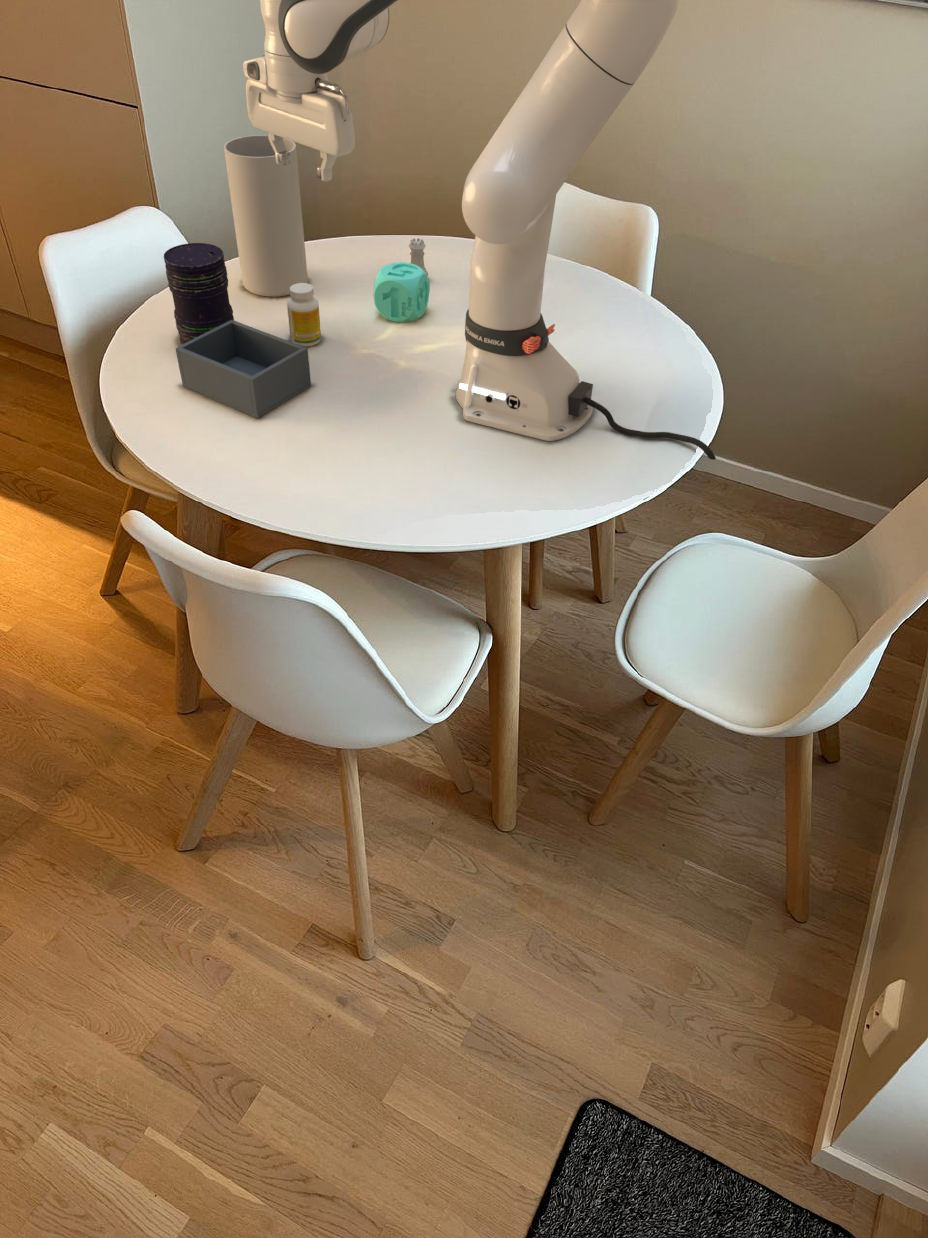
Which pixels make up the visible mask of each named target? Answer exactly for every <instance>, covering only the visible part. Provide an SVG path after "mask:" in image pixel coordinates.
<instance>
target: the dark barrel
mask: <svg viewBox="0 0 928 1238" xmlns="http://www.w3.org/2000/svg"><path fill="white" fill-rule="evenodd" d="M163 260H164V264H165V265H164V266H165V275H166V279H167V286H168V288H169V291H170V292H171V294H172V300H173V305H174V310H173V318H174V319H175V327H176V330H177V332H178V333H177V334H178V335H179V342H180V345H182V344H184V343H186V342H188V341H190V340H192V339H194V338H196V337H198V336H200V335H202V334H204V333H206V332H208V331H210V330H212V329H214V328H216V327H218V326H220V325H222V324H224V323H226V322H228V321H230V320H234V321H235V317H234V310H233V307H232V305H231V304H230V296H229V290H228V287H229V278H228V270H227V266H226V262H225V253H224V251H223V248H221V247H220V246H218V245H216V244H211V243H207V242H189V243H183V244H178V245H176V246H173V247H170V248H168V249H167V250H166V251H165V252H164V254H163Z"/></svg>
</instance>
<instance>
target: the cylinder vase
mask: <svg viewBox="0 0 928 1238" xmlns="http://www.w3.org/2000/svg"><path fill="white" fill-rule="evenodd" d="M283 142H284V145H285V148H286V151H288V152H290V161H291V162H290V164H289V165H286V166H282V165H279V164H277V163H276V156H275V152H274V150H273V147H272V145H271V143H270V141H269V137H268V134H265V135H264V134H255V135H244V136H240V137H236V138H233V139H230V140H229V141H226V142H225V143H224V145H223V151H224V152H223V153H224V159H225V166H226V167H225V168H226V172H227V181H228V188H229V195H230V202H231V209H232V216H233V223H234V230H235V231H234V232H235V238H236V245H237V246H236V247H237V252H238V261H239V268H240V275H241V281H242V286H243V287H244V288H245V289H246V290H247V291H249V292H250V293H251V294H254V295H257V296H262V297H271V298H272V297H273V298H274V297H275V298H276V297H284V296H290V287H291V286H292V285H294V284H297V283H307V284H308V281H309V280H308V279H309V278H308V277H309V276H308V266H307V255H306V245H305V244H306V243H305V233H304V232H305V231H304V222H303V221H304V219H303V210H302V209H303V208H302V199H301V186H300V176H299V165H298V153H297V144H296V142H294V141H291V140H288V139H285V138H283Z"/></svg>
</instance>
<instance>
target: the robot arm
mask: <svg viewBox="0 0 928 1238" xmlns="http://www.w3.org/2000/svg"><path fill="white" fill-rule="evenodd" d="M397 2H399V0H259V5H260V14H261V17H262V20H263V23H264V28H265V30H264V31H265V33H264V34H265V37H264V43H263V49H264V54H263V55H262V56H259V57H256V58H251V59H249V60H245V61H244V62H242V69H243V74H244V77H245V78H247V80H246V83H245V98H246V108H247V116H248V119H249V122H250V123H251V125H252V126H253V128H254V129H257V130H260V131H263V132H265V133H267V135H268V137H269V141H270V143H271V145H272V147H273V150H274V152H275V156H276V163H277V164H279V165H282V166H286V165H289V164H290V162H291V161H290V152H288V151H286V148H285V145H284V142H283V138H285V139H288V140H291V141H293V142H294V143H297V144H299V145H303V146H305V147H308V148H310V149H313V150H317V151H319V153H320V154H319V156H320V159H322V162H321V165H320V166H318V167H316V173H317V175H316V177H317V179H318V180H319V181H322V182H325V183H327V182H331V181H332V179H333V167H334V165H335V163H336V160H337V158H338V157H341V156H342V157H343V156H346V155H349V154H351V153H352V152H353V151H354V149H355V148H356V138H355V137H356V136H355V126H354V118H353V113H352V108H351V105H350V98H349V96H348V95H347V93H346V92H345V91H344V90H343V88H342V87H343V86H341V85H340V84H339V83H333V82H330V81H329V79H328V78H329V77H328V76H329V75H328V73H329V72H331V71H332V70H334V69H335V68H337V67H338V66H340V65H341V64H343V63H345V62H347V61H350V60H351V59H354V58H356V57H358V56H360V55H361V54H365V53H366V52H368V51H370V50H372V49H373V48H374V47H376V46H377V45H378V44H380V43H381V42H382V40H383V39H384V38H385V36H386V34H387V32H388V30H389V24H390V7H392V6H393V5H395V4H396V3H397ZM678 4H679V0H580V1H579V3H578V5H577V6H576V7H575V10H574V11H573V13H572V14H571V15H570V16H569V18H568V20H567V21H566V23H565V25H564V26H563V28H562V29H561V31H560V32H559V34H558V36H557V37H556V38H555V40H554V42H553V43H552V44H551V46H550V48H549V50H548V51H547V52H546V54H545V55H544V57H543V59H542V60H541V62H540V63H539V65H538V67H537V68H536V69H535V71H534V73H533V75H532V76H531V77H530V79H529V81H528V82H527V84H526V85H525V86H524V88H523V90H522V91H521V92H520V94H519V95H518V97H517V98H516V100H515V101H514V103H513V105H512V107H511V108H510V109H509V111H508V112H507V114H506V115H505V116H504V118H503V120H502V121H501V123H500V124H499V126H498V127H497V129H496V130H495V132H494V133H493V135H492V136H491V138H490V139H489V141H488V143H487V144H486V146H485V147H484V149H483V150H482V152H481V153H480V155H479V156H478V158H477V159H476V161H475V162H474V164H473V165H472V167H471V168H470V170H469V172H468V174H467V175H466V178H465V181H464V185H463V190H462V198H461V212H462V217H463V220H464V223H465V224H466V226H467V227H468V229H469V231H470V232H471V233H472V234H473V235H474V243H473V248H472V253H471V257H470V265H469V289H468V290H469V291H468V309H467V310H466V312H465V321H464V337H465V341H466V344H465V345H466V346H465V354H464V359H463V360H464V361H463V366H462V371H461V375H460V379H459V382H458V385H457V387H456V390H455V400H456V402H457V403H458V404H459V406H460V407H461V409H462V418H463V419H464V421H467V422H469V423H474V424H478V425H482V426H486V427H489V428H494V429H498V430H501V431H505V432H510V433H512V434H513V433H514V434H517V435H522V436H526V437H530V438H533V439H537V440H541V441H546V442H555V441H559V440H562V439H564V438H567V437H569V436H571V435H573V434H574V433H576V432H577V431H578V430H580V429H581V428H583V426H584V425H586V423H587V422H588V421H589V420H590V419H591V416H592V414H593V409H595V410H597V411H598V412H600V413H601V414H602V415H603V416H604V417H605V418H606V420H607V423H608V425H609V426H610V427H611V428H612V429H613V430H615V431H616V432H618V433H619V434H622V435H625V436H630V437H636V438H642V439H669V440H674V441H678V442H683V443H689V444H692V445H694V446H696V447H698V448H699V449H700V450H702V451H703V452H704V454H705V455H706V456H707V458H708V459H710V460H713V461H714V460H717V458H716V456H715V453H714V452H713V451H712V449H711V448H710V447H709V446H708V445H707V444H706V443H705V442H703V441H702V440H700V439H698V438H695V437H693V436H689V435H685V434H680V433H674V432H669V431H643V430H642V431H641V430H635V429H629V428H626V427H624V426H621V425H620V424H618V423H617V422H615V420H614V417H613V415H612V413H611V412H610V411H609V410H608V409H607V407H605V406H603V405H602V404H600V403H599V402H597V401H595V400H593V399H592V396H593V389H594V384H593V383H591V382H588V381H587V382H586V381H584V380H581V381H580V376H579V373H578V372H577V370H576V369H575V368H574V367H573V365H571V364H570V363H569V361H567V360H566V359H565V358H564V356H563V355H562V354H561V353H560V352H559V350H558V349H557V348H556V347H555V346H554V345H553V344H552V343H551V342H550V341H549V340H550V338H549V336H550V335H552V334H553V333H554V332H555V327H556V324H555V323H552V324H551V325H550V326H548V327H547V326H546V323H545V319H544V316H543V314H542V303H543V291H544V283H545V282H544V281H545V272H546V271H545V270H546V263H547V257H548V251H549V244H550V239H551V234H552V233H551V232H552V226H553V219H554V212H555V207H556V200H557V194H558V192H559V191H560V189H561V188H562V187H563V185H564V184H565V183H566V181H567V179H568V178H569V177H570V176H571V174H572V173H573V171H574V169H575V168H576V167H577V165H578V164H579V162H580V161H581V159H582V158H583V156H584V155H585V154H586V153H587V150H588V149H589V148H590V146H591V145H592V144H593V141H594V140H595V139H596V138H597V136H598V134H599V133H600V131H601V130H602V129H603V127H604V126H605V125H606V124H607V122H608V121H609V119H610V118H611V116H613V114H614V113H615V111H616V110H617V108H618V107H619V106H620V104H621V103H622V101H623V100H624V99H625V97H626V96H627V95H628V93H629V91H630V90H631V88H633V86H634V85H635V83H636V82H637V80H638V79H639V78H640V77H641V75H642V74H643V72H644V71H645V70H646V68H647V66H648V65H649V63H650V61H651V60H652V58H653V57H654V55H655V53H656V51H657V49H658V48H659V47H660V45H661V43H662V41H663V39H664V37H665V36H666V33H667V32H668V29H669V28H670V25H671V24H672V21H673V19H674V17H675V15H676V12H677V10H678Z"/></svg>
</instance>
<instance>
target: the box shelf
mask: <svg viewBox="0 0 928 1238" xmlns="http://www.w3.org/2000/svg"><path fill="white" fill-rule="evenodd" d="M174 349H175V354H176V360H177V363H178V369H179V374H180V379H181V384H182V387H183V388H186V389H188V390H190V391H193V392H195V393H197V394H199V395H202V396H203V397H206V398H209V399H211V400H213V401H216V402H218V403H221V404H223V405H226V406H227V407H230V408H232V409H235V410H237V411H239V412H241V413H243V414H246V415H248V416H251V417H252V418H256V419H260V418H262V417H263V416H265V415H267V414H268V413H270V412H271V411H273V410H274V409H277V408H278V407H279V406H282V405H283V404H285V403H287V402H288V401H289V400H291V399H293V398H294V397H296V396H298V395H299V394H301V393H303V392H304V391H306V390H307V389H309V388H311V387H312V382H311V379H312V378H311V371H310V369H311V368H310V360H309V359H310V358H309V348H308V347H307V346H300V345H298V344H295V343H293V342H292V341H291V340H287V339H285V338H281V337H279V336H276V335H274V334H271V333H268V332H265V331H263V330H260V329H258V328H255V327H253V326H249V325H247V324H245V323H241V322H239V321H237V320H235V319H234V320H230V321H228V322H226V323H224V324H222V325H220V326H218V327H216V328H214V329H212V330H210V331H208V332H206V333H204V334H202V335H200V336H198V337H196V338H194V339H192V340H190V341H188V342H186V343H184V344H182V345H181V344H180V345H179V346H177V347H175V348H174Z"/></svg>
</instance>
